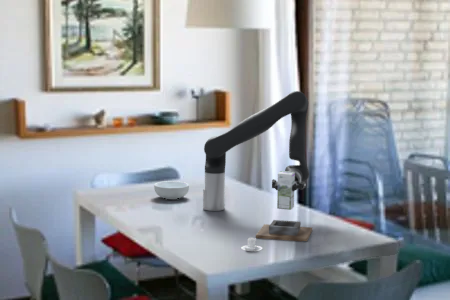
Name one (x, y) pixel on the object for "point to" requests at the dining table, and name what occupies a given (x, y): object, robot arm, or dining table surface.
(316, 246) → the dining table surface
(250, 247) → the teacup and saucer
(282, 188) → the syrup box
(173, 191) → the cereal bowl
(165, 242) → the dining table surface
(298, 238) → the collar board
